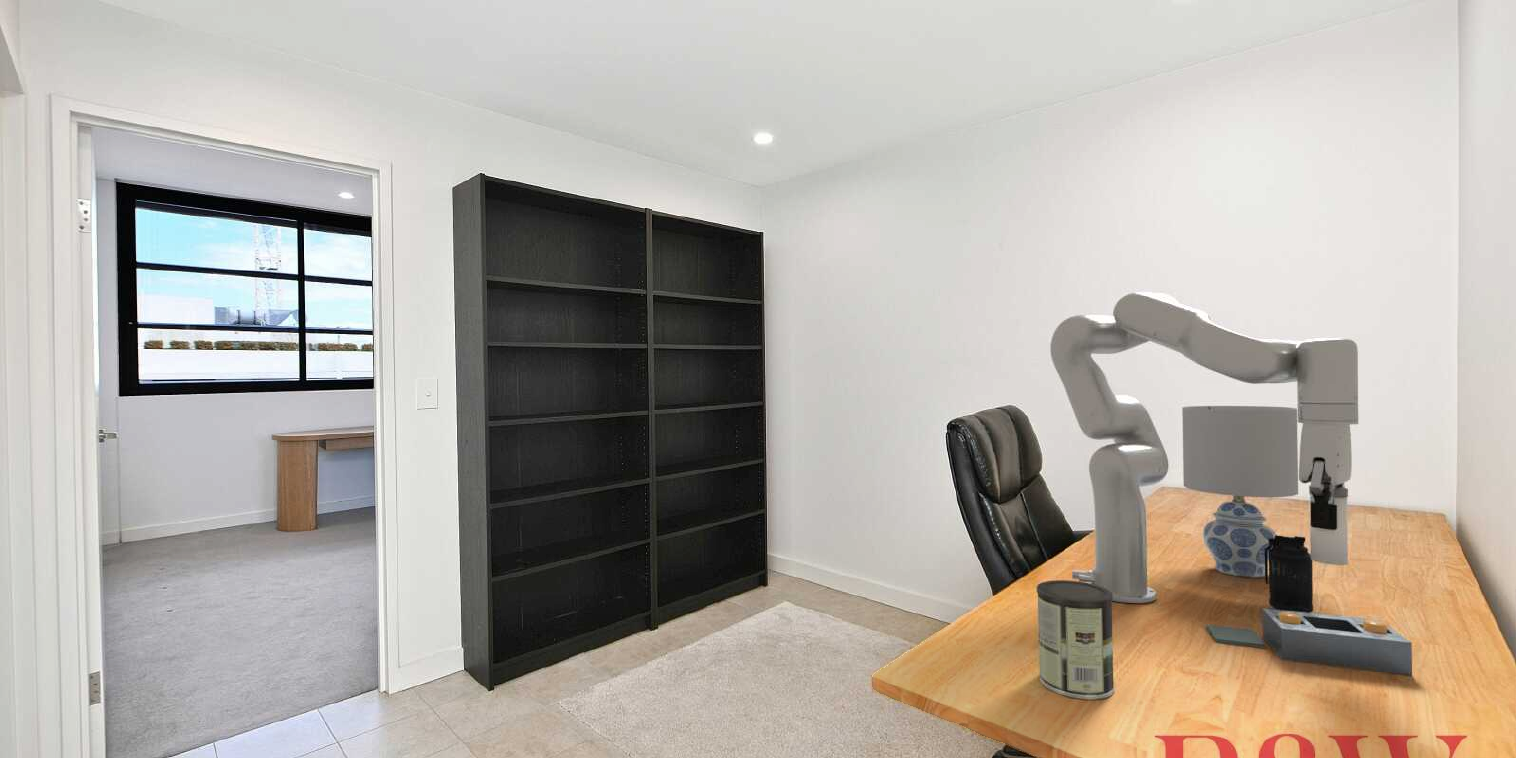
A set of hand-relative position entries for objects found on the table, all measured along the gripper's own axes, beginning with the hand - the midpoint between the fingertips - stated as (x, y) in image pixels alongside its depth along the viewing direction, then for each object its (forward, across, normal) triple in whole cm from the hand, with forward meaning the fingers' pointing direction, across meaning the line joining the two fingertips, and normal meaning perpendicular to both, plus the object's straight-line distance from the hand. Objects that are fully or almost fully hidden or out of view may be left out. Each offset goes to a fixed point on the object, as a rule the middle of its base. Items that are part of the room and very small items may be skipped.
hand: (1328, 524), depth 108 cm
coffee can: (+21, +42, -20) cm, 51 cm away
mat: (+21, +4, -12) cm, 25 cm away
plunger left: (+20, +3, -4) cm, 21 cm away
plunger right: (+20, -3, +5) cm, 21 cm away
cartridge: (+6, 0, 0) cm, 6 cm away
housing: (+21, 0, 0) cm, 21 cm away
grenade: (+21, -17, -10) cm, 29 cm away
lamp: (+22, -42, -25) cm, 53 cm away
